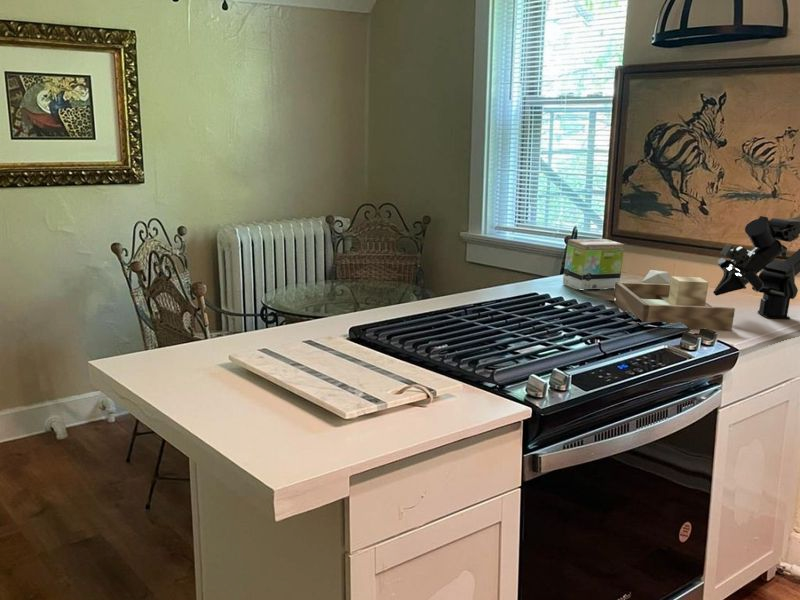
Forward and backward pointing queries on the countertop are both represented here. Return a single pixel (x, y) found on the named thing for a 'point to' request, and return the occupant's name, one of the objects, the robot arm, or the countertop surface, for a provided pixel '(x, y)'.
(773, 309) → the robot arm
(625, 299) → the trap box
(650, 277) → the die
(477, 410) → the countertop surface
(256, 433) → the countertop surface
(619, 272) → the tea box
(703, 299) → the maple block
